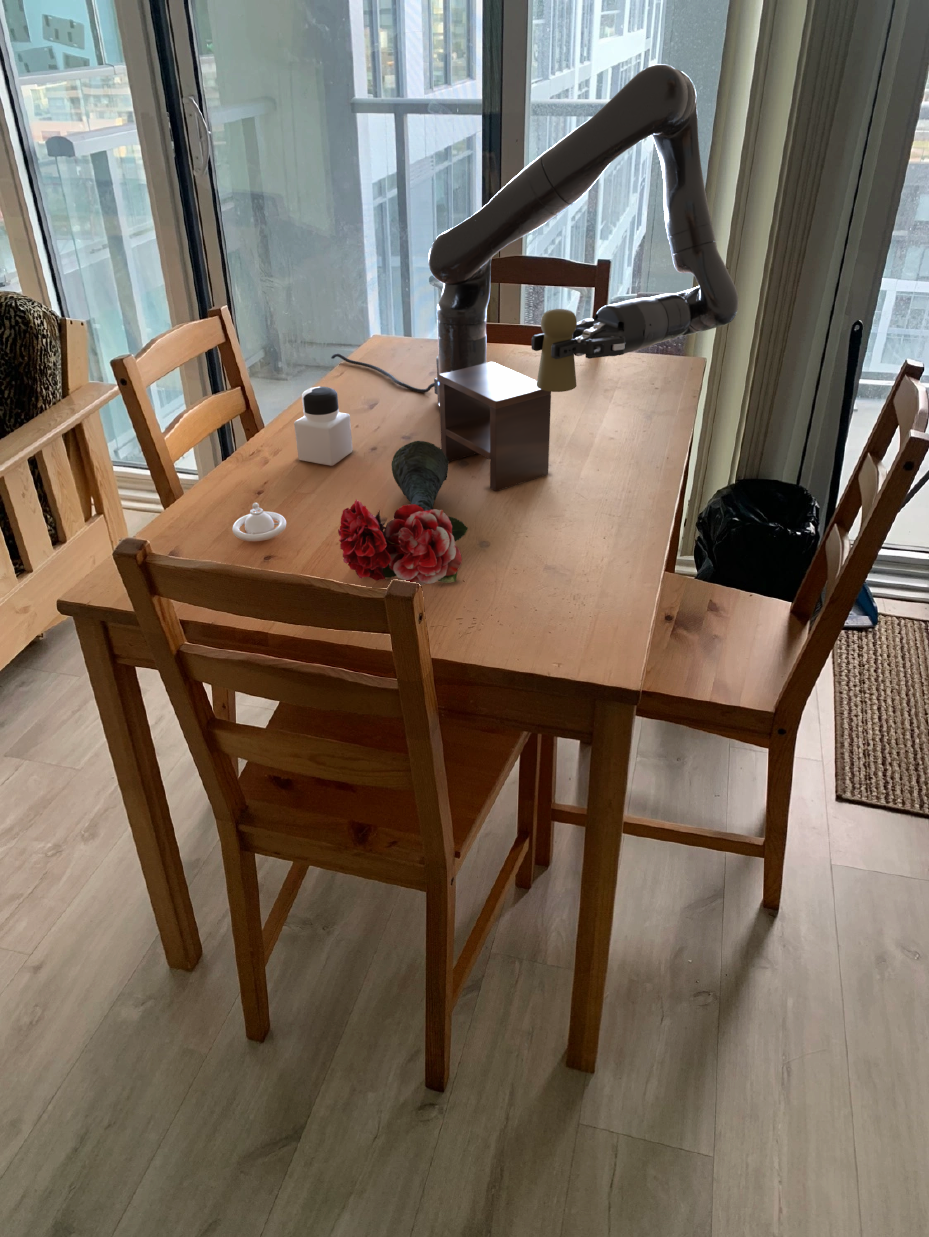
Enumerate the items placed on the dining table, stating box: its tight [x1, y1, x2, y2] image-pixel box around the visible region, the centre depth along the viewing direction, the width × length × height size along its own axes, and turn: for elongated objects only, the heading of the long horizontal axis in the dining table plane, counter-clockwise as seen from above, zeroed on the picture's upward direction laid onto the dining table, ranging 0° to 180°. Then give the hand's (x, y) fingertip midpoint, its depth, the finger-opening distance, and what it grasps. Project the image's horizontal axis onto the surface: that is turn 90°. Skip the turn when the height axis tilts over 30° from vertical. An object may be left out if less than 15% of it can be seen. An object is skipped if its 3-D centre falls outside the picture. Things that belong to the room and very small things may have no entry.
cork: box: [536, 308, 578, 393], centre depth 138 cm, size 6×6×11 cm
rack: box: [439, 361, 552, 492], centre depth 156 cm, size 16×11×15 cm
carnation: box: [337, 440, 469, 586], centre depth 135 cm, size 16×18×35 cm
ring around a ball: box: [232, 502, 287, 542], centre depth 139 cm, size 8×6×8 cm
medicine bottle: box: [293, 386, 354, 467], centre depth 162 cm, size 7×7×12 cm
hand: (543, 347), depth 136 cm, fingers closed on cork, 4 cm apart
